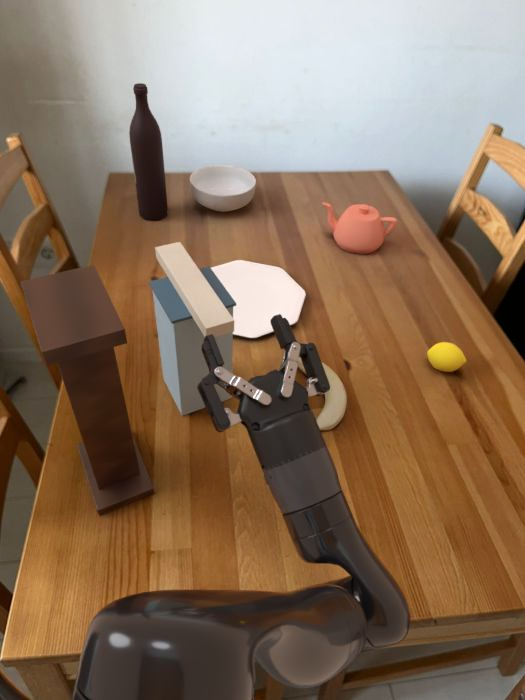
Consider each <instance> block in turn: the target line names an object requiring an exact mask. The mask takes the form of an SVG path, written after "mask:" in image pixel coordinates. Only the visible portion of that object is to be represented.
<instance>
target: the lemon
mask: <svg viewBox="0 0 525 700" xmlns="http://www.w3.org/2000/svg"><path fill="white" fill-rule="evenodd" d="M426 356H427V359H428V361H429V364H430V365H431V366H432V367H433V368H434V369H436V370H438V371H440V372H444V373H453V372H454V371H457V370H458V369H459V368H461V367H462V366H464V365H465V364H466V363H467V358H466V355H464V353H463V350H462V349H461V348H460V347H458V346H457V345H456V344H455V343H453V342H447V341H441V342H438V343H434V345H433V346H431V347H430V348H429V349H428V350H427V352H426Z"/></svg>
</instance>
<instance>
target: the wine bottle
mask: <svg viewBox="0 0 525 700" xmlns="http://www.w3.org/2000/svg"><path fill="white" fill-rule="evenodd" d="M133 94H134V98H135V110H134V113H133V116H132V119H131V121H130V125H129V133H128V135H129V144H130V145H129V146H130V150H131V151H130V152H131V159H132V167H133V174H134V175H133V177H134V183H135V184H134V185H135V192H136V198H137V206H138V212H139V215H140V217H141V218H142V219H143V220H146V221H160V220H163V219H165V218H166V217H167V216H168V215H169V206H168V193H167V183H166V171H165V159H164V149H163V138H162V131H161V128H160V125H159V123H158V121H157V119H156V118H155V116H154V115H153V113H152V111H151V109H150V106H149V105H150V104H149V99H148V94H149V91H148V86H147V84H146V83H141V82H140V83H139V82H138V83H134V85H133Z"/></svg>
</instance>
